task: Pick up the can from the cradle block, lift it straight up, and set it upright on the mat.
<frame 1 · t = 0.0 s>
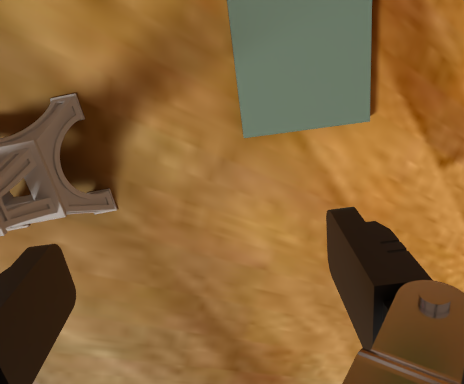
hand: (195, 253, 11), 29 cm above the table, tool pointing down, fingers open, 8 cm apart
mat: (300, 62, 37), on the table
eiffel tower: (40, 165, 41), on the table
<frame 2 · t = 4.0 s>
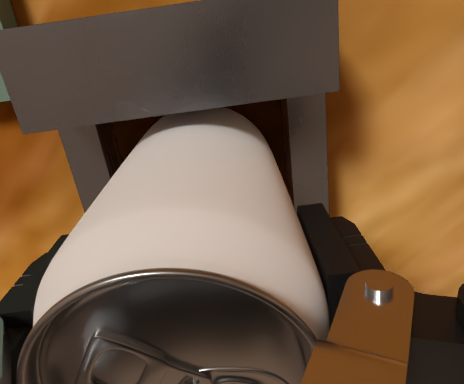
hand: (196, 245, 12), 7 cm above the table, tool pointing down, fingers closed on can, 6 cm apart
cradle block: (205, 170, 18), on the table
can: (205, 169, 18), resting in cradle block, touching gripper
when the fingers open (9 cm above the table, at t = 10.3 s): can stays where it is, resting on mat.
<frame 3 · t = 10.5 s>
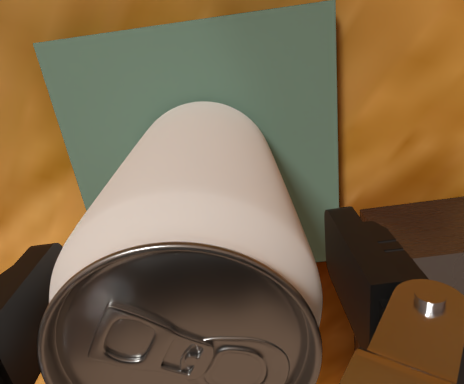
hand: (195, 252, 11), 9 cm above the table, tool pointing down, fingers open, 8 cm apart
cradle block: (438, 295, 23), on the table
mat: (207, 157, 20), on the table
can: (205, 164, 19), point 1 cm above the table, touching mat
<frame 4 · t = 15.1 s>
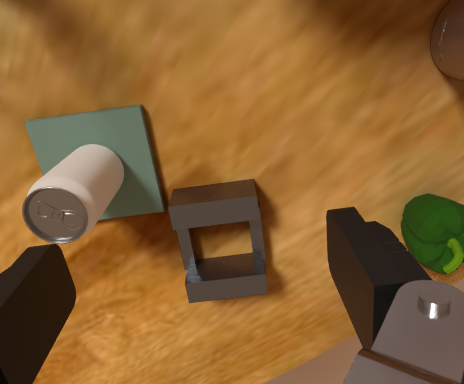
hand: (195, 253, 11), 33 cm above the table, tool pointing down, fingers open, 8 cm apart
cradle block: (221, 231, 49), on the table
bell pepper: (420, 212, 49), on the table
mat: (100, 166, 45), on the table
can: (98, 168, 44), point 1 cm above the table, touching mat
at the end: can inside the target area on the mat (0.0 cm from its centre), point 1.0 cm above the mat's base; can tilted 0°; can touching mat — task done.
